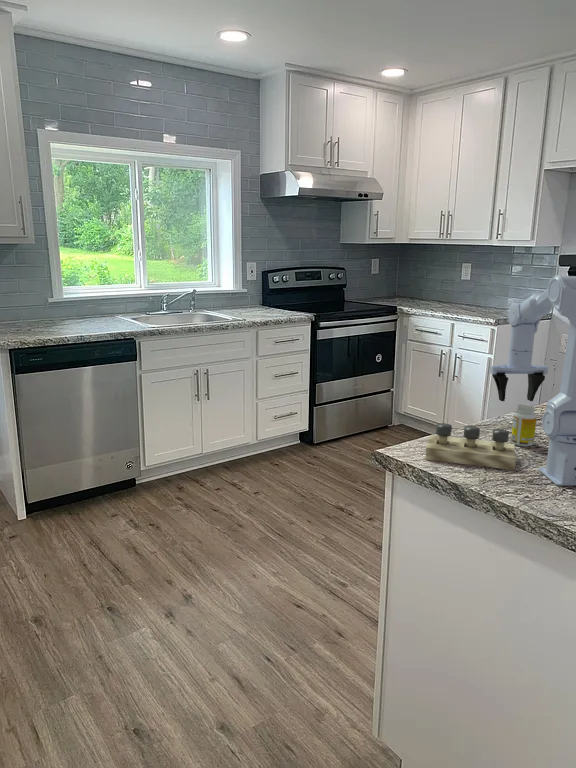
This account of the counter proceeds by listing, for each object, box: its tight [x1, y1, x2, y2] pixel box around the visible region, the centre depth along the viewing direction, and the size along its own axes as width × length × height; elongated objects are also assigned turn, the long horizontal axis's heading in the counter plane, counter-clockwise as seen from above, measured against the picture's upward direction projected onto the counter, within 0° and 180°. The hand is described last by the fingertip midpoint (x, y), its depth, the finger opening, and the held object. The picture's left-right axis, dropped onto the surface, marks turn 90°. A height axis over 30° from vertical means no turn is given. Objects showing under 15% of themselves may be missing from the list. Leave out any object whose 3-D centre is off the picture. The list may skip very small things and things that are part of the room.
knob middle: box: [463, 425, 481, 448], centre depth 138 cm, size 4×4×5 cm
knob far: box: [435, 422, 453, 445], centre depth 140 cm, size 4×4×5 cm
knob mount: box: [425, 434, 517, 471], centre depth 139 cm, size 20×10×3 cm, turn 71°
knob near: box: [491, 428, 510, 451], centre depth 136 cm, size 4×4×5 cm
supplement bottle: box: [510, 403, 538, 447], centre depth 148 cm, size 6×6×10 cm
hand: (515, 400), depth 153 cm, fingers open, 7 cm apart
